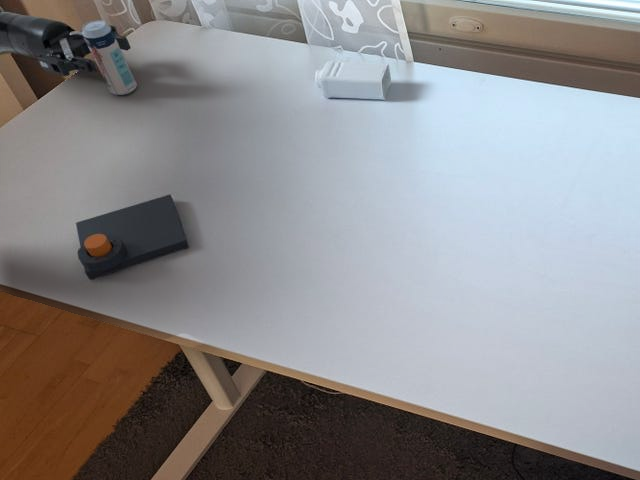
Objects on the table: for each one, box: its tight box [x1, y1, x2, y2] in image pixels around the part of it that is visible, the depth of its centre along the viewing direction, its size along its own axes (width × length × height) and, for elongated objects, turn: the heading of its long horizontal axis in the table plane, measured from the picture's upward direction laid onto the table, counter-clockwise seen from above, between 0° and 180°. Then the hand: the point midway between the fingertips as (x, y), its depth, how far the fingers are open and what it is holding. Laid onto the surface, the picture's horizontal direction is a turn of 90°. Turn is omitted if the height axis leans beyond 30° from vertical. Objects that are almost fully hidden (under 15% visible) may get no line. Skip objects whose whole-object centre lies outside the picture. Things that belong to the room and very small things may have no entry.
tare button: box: [84, 234, 112, 257], centre depth 94 cm, size 3×3×2 cm
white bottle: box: [314, 60, 392, 101], centre depth 122 cm, size 6×13×4 cm, turn 82°
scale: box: [75, 194, 190, 280], centre depth 99 cm, size 14×13×3 cm
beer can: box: [81, 19, 138, 96], centre depth 122 cm, size 5×5×12 cm
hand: (111, 55), depth 121 cm, fingers open, 8 cm apart
